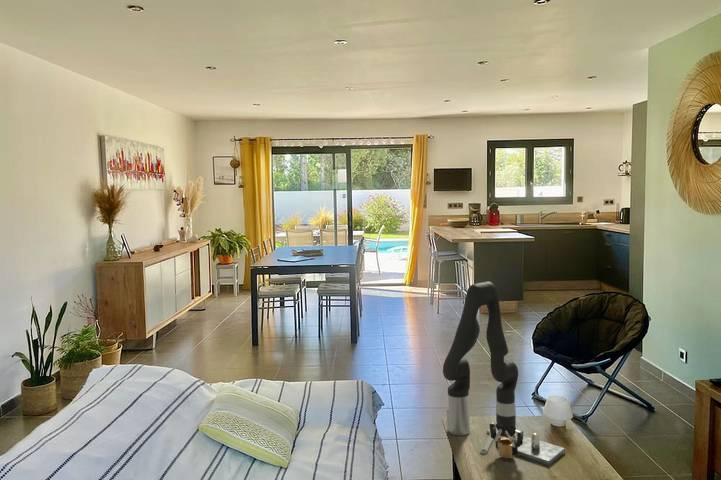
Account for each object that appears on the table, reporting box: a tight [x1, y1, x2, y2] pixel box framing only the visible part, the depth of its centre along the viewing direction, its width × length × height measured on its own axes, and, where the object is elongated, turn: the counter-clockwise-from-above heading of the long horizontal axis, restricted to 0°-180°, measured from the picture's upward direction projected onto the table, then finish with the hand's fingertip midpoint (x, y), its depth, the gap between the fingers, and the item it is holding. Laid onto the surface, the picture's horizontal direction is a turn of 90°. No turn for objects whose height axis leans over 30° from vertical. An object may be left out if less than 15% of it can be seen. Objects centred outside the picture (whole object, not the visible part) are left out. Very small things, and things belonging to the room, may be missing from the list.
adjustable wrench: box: [480, 427, 499, 455], centre depth 228 cm, size 25×6×2 cm, turn 148°
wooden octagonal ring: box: [497, 437, 517, 459], centre depth 211 cm, size 6×6×5 cm
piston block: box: [516, 432, 566, 467], centre depth 215 cm, size 18×14×8 cm
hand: (506, 452), depth 211 cm, fingers closed on wooden octagonal ring, 6 cm apart
